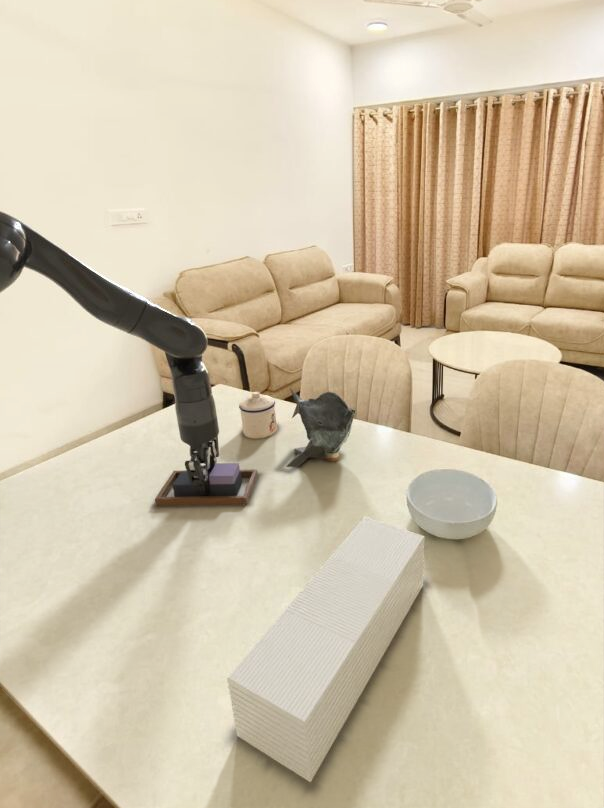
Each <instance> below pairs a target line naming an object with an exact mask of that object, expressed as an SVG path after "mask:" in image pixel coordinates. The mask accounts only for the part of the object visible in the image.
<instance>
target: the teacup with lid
mask: <svg viewBox="0 0 604 808" xmlns="http://www.w3.org/2000/svg"><path fill="white" fill-rule="evenodd" d="M238 407H239V411H240V418H241V425H242V433H243V435H244V436H245V437H247V438H249V439H264V438H267V437H270V436H273V435H274V434H275V433H276V432H277V429H278V428H277V427H278V426H277V420H276V419H277V418H276V417H277V416H276V409H275V407H276V401H275V399H274V398H273V397H272V396H270V395H267V394H261V392H259V391H253V392H252V393H251V395H249V396H247V397H244V398H243V399H242V400H241V401H240V402H239V405H238Z"/></svg>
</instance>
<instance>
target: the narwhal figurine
mask: <svg viewBox="0 0 604 808" xmlns="http://www.w3.org/2000/svg"><path fill="white" fill-rule="evenodd" d="M288 388H289V390H290V392H291V394H292V395H291V396H292V397H293V400H294V402H295V404H296V405H295V408H294V412H293V414H292V417H291V419H293V418H294V417H295V416H297V415H299V416H300V420H301V423H302V424H303V426H304V429H305V432H306V438H307V440H308V441H309V442H308V443H307V445H306V446H301V447H296V448H294V453H295V456H294V457H293V458H292V459H291V460H290V462H289V463H288V464H287V465H286V466H285V467H286V468H287V467H288V468H296V469H297V468H299V467H300V466H301V465H302V464H304V462H305V461H306V460H308V459H309V458H317V459H324V460H327V461H330V462H333V461H338V460H339V459H340V458H341V454H340V450H341V448H342V446H343V445H344V443H346V442H347V441H348V439H349V437H350V433H351V431H352V425H353V421H354V418H355V415H356V409H353V408H349V407H348V405H347V403H346V401H345V400H343V398H342V397H340V395H338V394H337V393H335V392H333V391H326V392H323V393H322V394H320V395H319V396H318V397H317V398H308V399H302V398H301V397H300V396H299V395H298V394H297V393H296V392H295V391H294V390H293V389H292V388H291V387H289V386H288Z"/></svg>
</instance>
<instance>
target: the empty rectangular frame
mask: <svg viewBox="0 0 604 808" xmlns="http://www.w3.org/2000/svg"><path fill="white" fill-rule="evenodd" d="M240 471H241V476H242V479H245V478H246V479H249V480H248V483H247V485H246V488H245V490H244V492H243V495H237V496H200V497H175V496H168V494H169V493H170V492H171V489H172V488H173V484H174V482H175V481H176V479H177V477H178V476H179V474H180V473H181V472H187V470H186V469H185V470H173V471H172V473H171V474H170V475H169V477H168V479H167V481H166V482H165V483H164V485H163V486H162V488H161V489H160V491H159V492H158V494H157V495H156V497H155V498H154V502H155V506H156V507H167V506H168V507H179V506H186V507H187V506H188V507H190V506H242V505H243V506H246V505H248V504H249V500H250V498H251V495H252V492H253V490H254V488H255V485H256V483H257V482H256V481H257V479H258V477H259V475H258V469H240ZM202 472H203V470H202Z"/></svg>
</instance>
